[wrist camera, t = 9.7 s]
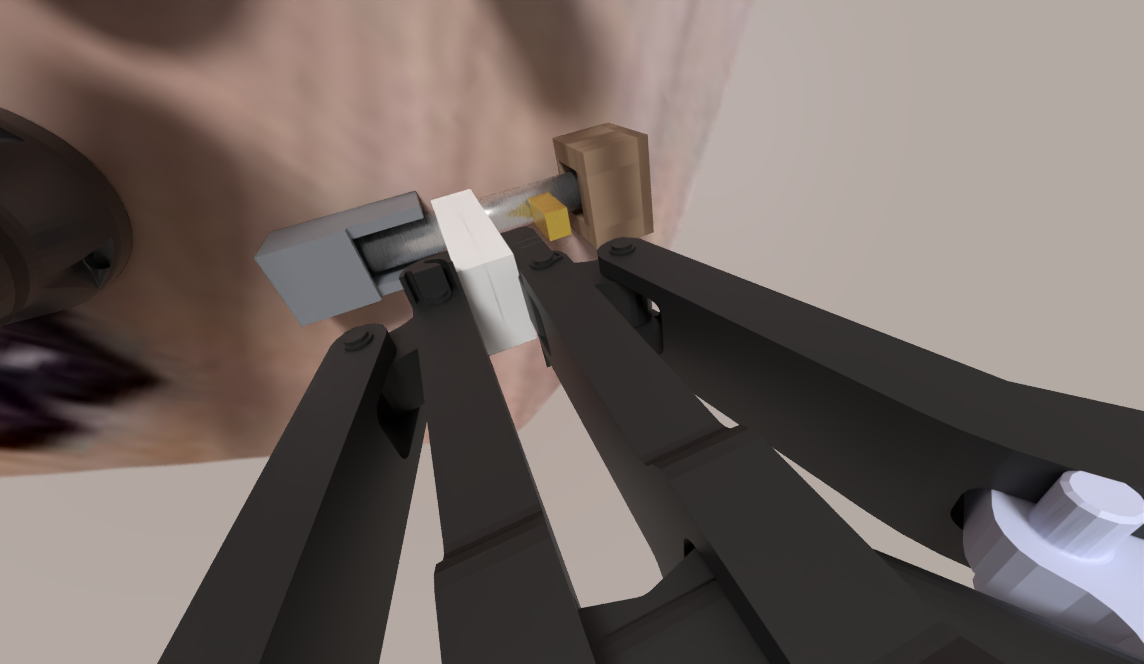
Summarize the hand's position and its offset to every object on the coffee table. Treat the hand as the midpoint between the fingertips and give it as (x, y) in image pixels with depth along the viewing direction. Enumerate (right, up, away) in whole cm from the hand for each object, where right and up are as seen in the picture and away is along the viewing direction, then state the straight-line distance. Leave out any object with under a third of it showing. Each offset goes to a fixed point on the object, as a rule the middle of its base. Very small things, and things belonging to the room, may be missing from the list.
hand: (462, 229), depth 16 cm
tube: (-5, +8, +26) cm, 28 cm away
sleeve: (-15, +5, +24) cm, 29 cm away
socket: (+5, +12, +28) cm, 31 cm away
